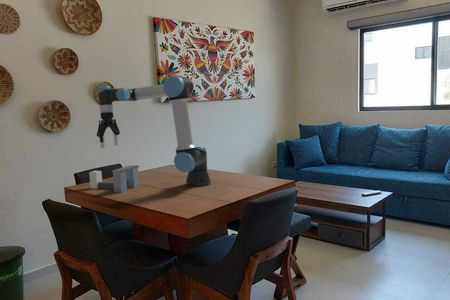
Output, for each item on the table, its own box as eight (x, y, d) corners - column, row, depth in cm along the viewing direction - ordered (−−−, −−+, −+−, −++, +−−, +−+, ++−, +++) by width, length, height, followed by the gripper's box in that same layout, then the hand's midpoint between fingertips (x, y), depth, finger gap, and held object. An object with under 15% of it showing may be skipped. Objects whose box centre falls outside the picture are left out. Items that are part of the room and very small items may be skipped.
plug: (123, 187, 227) (121, 171, 226) (118, 189, 223) (116, 173, 222) (95, 186, 234) (94, 170, 233) (90, 188, 230) (88, 172, 229)
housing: (140, 185, 231) (138, 165, 229) (122, 192, 214) (120, 170, 212) (131, 185, 233) (129, 165, 231) (113, 192, 216) (111, 170, 215)
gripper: (113, 111, 243) (116, 144, 245) (88, 113, 219) (91, 149, 222) (123, 111, 240) (126, 143, 243) (98, 112, 217) (102, 148, 219)
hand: (110, 146), depth 232 cm, fingers open, 13 cm apart
